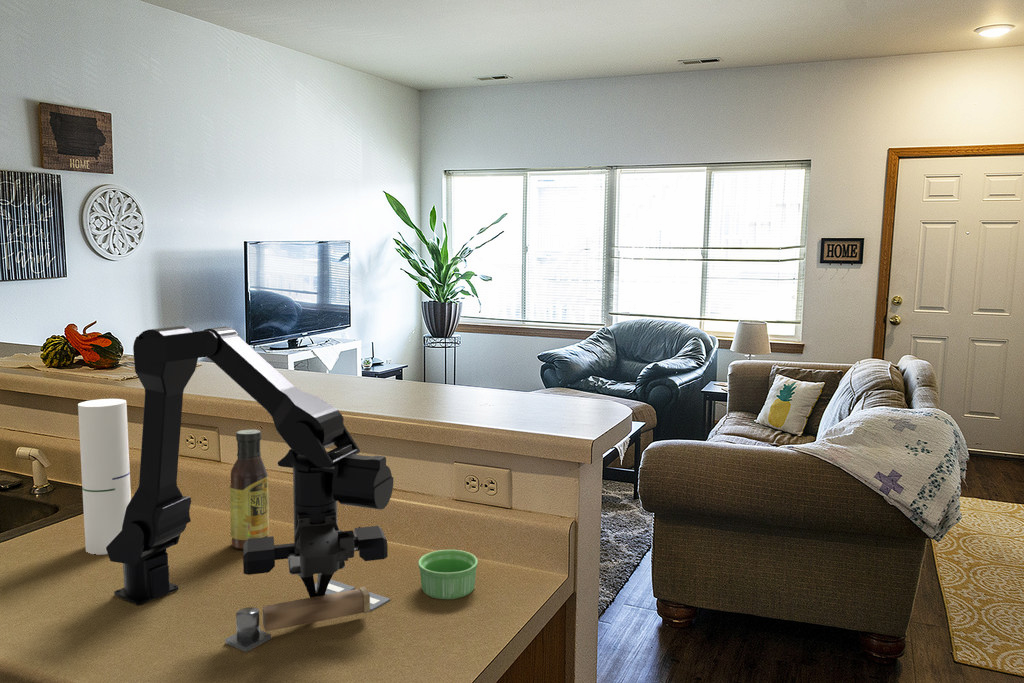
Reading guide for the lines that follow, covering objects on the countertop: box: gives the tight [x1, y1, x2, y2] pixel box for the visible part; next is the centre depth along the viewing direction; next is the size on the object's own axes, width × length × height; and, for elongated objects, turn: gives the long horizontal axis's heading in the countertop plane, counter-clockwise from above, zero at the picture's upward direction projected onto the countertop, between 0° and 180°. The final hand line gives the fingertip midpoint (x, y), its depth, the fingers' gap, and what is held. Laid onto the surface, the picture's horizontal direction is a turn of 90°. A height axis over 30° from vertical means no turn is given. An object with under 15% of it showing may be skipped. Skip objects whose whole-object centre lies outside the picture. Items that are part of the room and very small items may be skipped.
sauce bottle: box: [229, 429, 270, 550], centre depth 129 cm, size 6×6×20 cm
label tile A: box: [314, 579, 356, 595], centre depth 113 cm, size 6×4×1 cm, turn 58°
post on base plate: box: [224, 606, 272, 653], centre depth 97 cm, size 4×4×4 cm
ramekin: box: [417, 549, 479, 600], centre depth 114 cm, size 9×9×4 cm
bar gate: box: [262, 586, 371, 633], centre depth 101 cm, size 14×3×3 cm, turn 116°
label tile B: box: [368, 591, 391, 612], centre depth 109 cm, size 6×4×1 cm, turn 58°
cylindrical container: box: [77, 398, 132, 556], centre depth 127 cm, size 7×7×25 cm
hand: (316, 607), depth 104 cm, fingers closed
